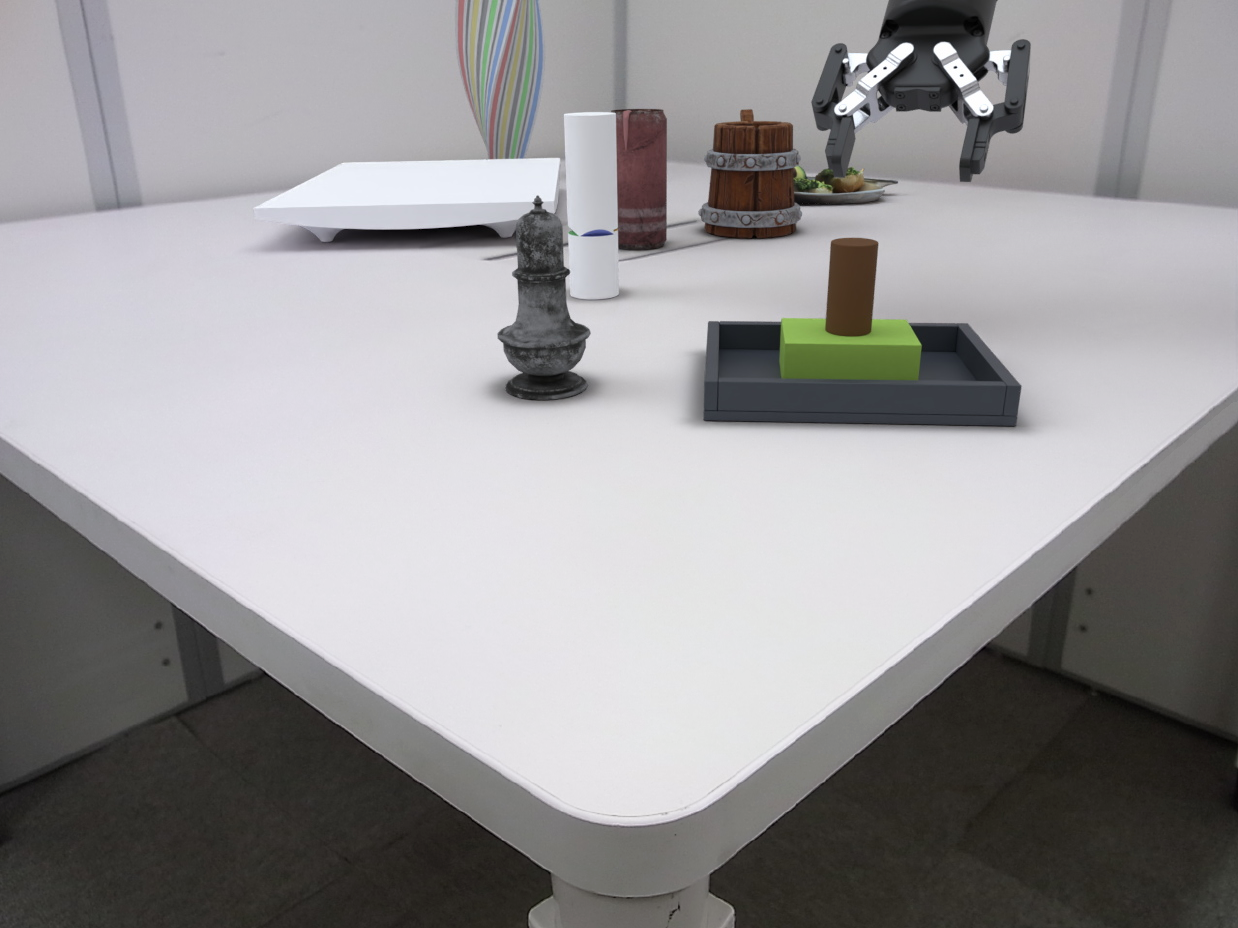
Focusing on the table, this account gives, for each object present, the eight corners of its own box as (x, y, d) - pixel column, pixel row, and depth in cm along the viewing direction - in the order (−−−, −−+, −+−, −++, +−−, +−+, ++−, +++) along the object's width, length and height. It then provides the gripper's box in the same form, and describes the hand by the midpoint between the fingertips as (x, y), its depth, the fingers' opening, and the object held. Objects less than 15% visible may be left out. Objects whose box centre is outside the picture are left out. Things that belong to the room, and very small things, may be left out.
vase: (555, 174, 171) (547, -22, 159) (542, 184, 159) (532, -27, 147) (477, 174, 172) (463, -20, 161) (457, 185, 160) (441, -25, 148)
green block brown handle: (902, 364, 66) (915, 233, 63) (916, 393, 61) (931, 251, 57) (779, 361, 67) (785, 232, 64) (782, 390, 62) (789, 250, 58)
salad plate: (885, 187, 149) (888, 154, 148) (912, 204, 133) (916, 168, 131) (754, 188, 150) (755, 156, 149) (765, 206, 134) (766, 170, 132)
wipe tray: (963, 357, 69) (968, 323, 68) (1016, 426, 57) (1022, 385, 56) (707, 354, 71) (708, 320, 70) (703, 420, 59) (704, 381, 58)
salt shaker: (481, 387, 65) (468, 196, 60) (550, 367, 69) (543, 186, 64) (541, 408, 61) (531, 205, 56) (611, 385, 65) (607, 194, 60)
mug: (701, 238, 111) (702, 95, 108) (694, 238, 125) (695, 111, 122) (808, 237, 111) (812, 93, 107) (789, 237, 125) (792, 110, 121)
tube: (587, 286, 92) (582, 111, 86) (627, 291, 89) (625, 112, 84) (560, 296, 88) (553, 115, 82) (602, 301, 86) (598, 116, 80)
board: (556, 245, 110) (554, 201, 109) (259, 252, 110) (253, 208, 108) (561, 190, 152) (560, 157, 150) (346, 195, 151) (342, 162, 149)
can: (603, 250, 108) (600, 111, 102) (617, 239, 113) (615, 107, 108) (659, 251, 106) (659, 111, 101) (671, 240, 112) (671, 107, 107)
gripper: (840, -45, 73) (788, 133, 68) (1051, -57, 68) (1011, 136, 62) (853, 34, 80) (806, 203, 75) (1046, 29, 74) (1010, 211, 69)
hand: (899, 172), depth 69 cm, fingers open, 8 cm apart
